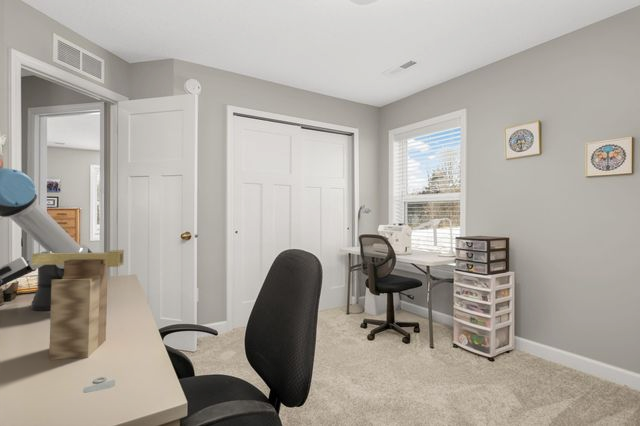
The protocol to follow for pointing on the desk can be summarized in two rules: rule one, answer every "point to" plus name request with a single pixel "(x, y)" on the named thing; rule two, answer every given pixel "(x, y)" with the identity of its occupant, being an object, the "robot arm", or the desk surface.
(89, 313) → the hinge block
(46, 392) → the desk surface
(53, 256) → the golden wooden bar
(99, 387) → the mounting bracket
